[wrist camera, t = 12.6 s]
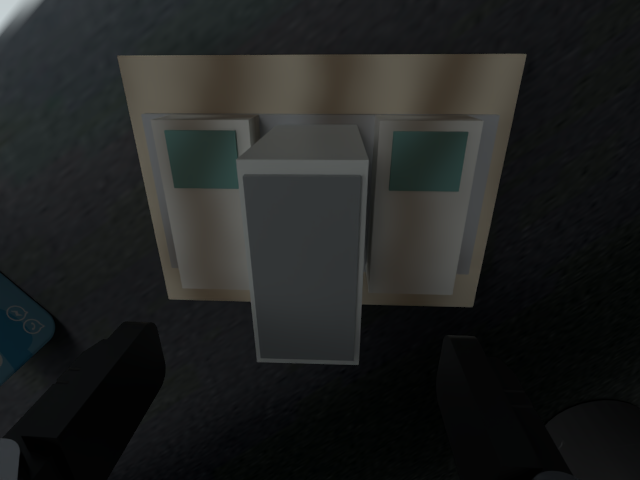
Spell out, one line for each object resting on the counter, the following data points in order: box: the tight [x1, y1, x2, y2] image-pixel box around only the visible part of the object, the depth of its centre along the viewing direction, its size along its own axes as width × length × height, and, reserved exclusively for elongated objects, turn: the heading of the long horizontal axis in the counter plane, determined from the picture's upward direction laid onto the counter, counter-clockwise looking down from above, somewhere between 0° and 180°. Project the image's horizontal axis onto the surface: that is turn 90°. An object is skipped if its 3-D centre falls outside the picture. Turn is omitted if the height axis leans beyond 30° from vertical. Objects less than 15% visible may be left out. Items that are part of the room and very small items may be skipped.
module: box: [236, 125, 369, 365], centre depth 18 cm, size 4×9×9 cm, turn 1°
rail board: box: [117, 54, 526, 307], centre depth 22 cm, size 22×16×4 cm
